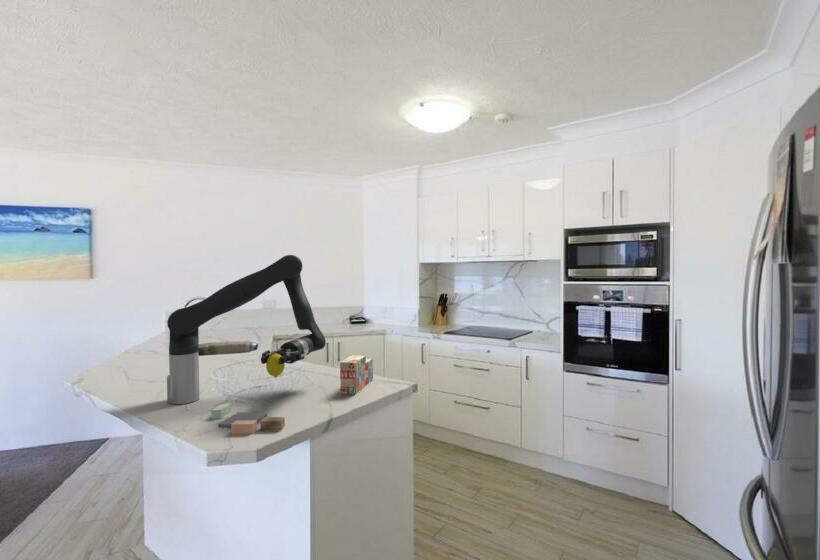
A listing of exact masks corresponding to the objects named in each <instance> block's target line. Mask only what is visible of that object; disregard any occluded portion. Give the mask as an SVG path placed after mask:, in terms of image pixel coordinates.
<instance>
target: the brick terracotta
mask: <svg viewBox="0 0 820 560" xmlns="http://www.w3.org/2000/svg"><path fill="white" fill-rule="evenodd" d="M230 428H231V429H230V430H231V433H230V434H231V435H253V434H254V433H255V432H257V430H258V423H257V420H236V421H235V422H233V423H232V424H231V427H230Z"/></svg>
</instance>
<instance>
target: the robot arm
mask: <svg viewBox="0 0 820 560" xmlns="http://www.w3.org/2000/svg"><path fill="white" fill-rule="evenodd" d="M302 271H303V261H302V260H301V258H300V257H298V256H297V255H293V254H288V255H284V256H282V257H281V258H279V259H278V260H276V261H275V262H273V263H271V264H270V265H268V266H266V267H264V268H263V269H260V270H258V271H255V272H253V273H250V274H249V275H246V276H243V277H242V278H239V279H237V280H235V281H233V282H231V283H229V284H227V285H224V286H223V287H222V288H220V289H218V290H217V291H215V292H214V293H212V294H210V295H209V296H208V297H207V298H205V299H203V300H201V301H198V302H197V303H194V304H192V305H190V306H189V305H188V306H186V307H183V308H178V309H176V310H174V311H173V312H171V314H170V315H169V316H168V318H167V328H168V329H169V345H168V363H169V367H168V369H169V373H168V375H167V376H166V395H167V396H166V398H167V399H166V400H167V403H170V404H172V405H184V404H190V403H194V402H196V401H199V400H200V362H199V361H200V360H199V348H200V347H199V344H200V343H199V342H200V341H199V335H200V334H199V333H200V332H199V327H201V326H202V325H204V324H206V323H207V322H209V321H211V320H212V319H215V318H216V317H218V316H222V315H224V314H226V313H228V312H231V311H234V310H235V309H238V308H239V307H242V306H243V305H246V304H247V303H249V302H251V301H253V300H254V299H256V298H258V297H259V296H261V295H262V294H263V293H265V292H266V291H267V290H269V289H270V288H272V287H273V286H275V285H277V284H278V283H281V282H283V284H284V286H285V289H286V291H287V294H288V297H289V301H290V303H291V308H292V311H293V314H294V319H295V322H296V325H297V328H298V330H299V331H300V330H301V331H305V330H306V331H307V330H308V331H309V332H310V333H309V334H307V335H303V336H300V337H299V338H297V339H292V340H289V341H286V342H284V343H283V344H282V345H280V347H279V348H278V349H277V350H272V351H271V350H270V349H269V350H265V351H264V352H262V353H261V357H260V363H261V364H262V365H266V364H267V360H268V358H269V357H270V356H271V355H273V354H274V353H277V354H279V355H281V356H282V357H280V358H279V364H285V363H286V364H291V365H292V364H294V363H296V362H299V361H301V360H304V359H305V357H306V356H308V355H310V354H311V353H313V352H316V351H317V352H318V351H320V350H323V349H324V348H325V346H326V342H327V341H326V337H325V335H324V334H323V332H322V331H321V329H320V328H319V326H318V324H317V322H316V320H315V317H314V312H313V309H312V307H311V305H310V302H309V299H308V297H307V295H306V292H305V290H304V287H303V282H302V276H301V273H302Z"/></svg>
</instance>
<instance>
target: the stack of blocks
mask: <svg viewBox="0 0 820 560" xmlns="http://www.w3.org/2000/svg"><path fill="white" fill-rule="evenodd" d="M339 365H340V366H339V368H340V369H339V370H340V371H339V373H340V374H339V375H340V376H339V378H340V395H350V394H356V395H358V394H359V393H360V392H362V391H363V390H364V389H363V388H366V387H367V386H368V385H369V384H370V383H372V381H373V380H374V376H373V375H374V367H373V366H374V365H373V358H367V356H366V355H350V356H348V357H347V358H345V359H343V360H342V361H341V360H340V362H339ZM372 379H373V380H372ZM369 382H370V383H369ZM368 383H369V384H368ZM367 384H368V385H367ZM366 385H367V386H366ZM365 386H366V387H365ZM362 389H363V390H362ZM359 391H360V392H359ZM358 392H359V393H358ZM357 393H358V394H357Z"/></svg>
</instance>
